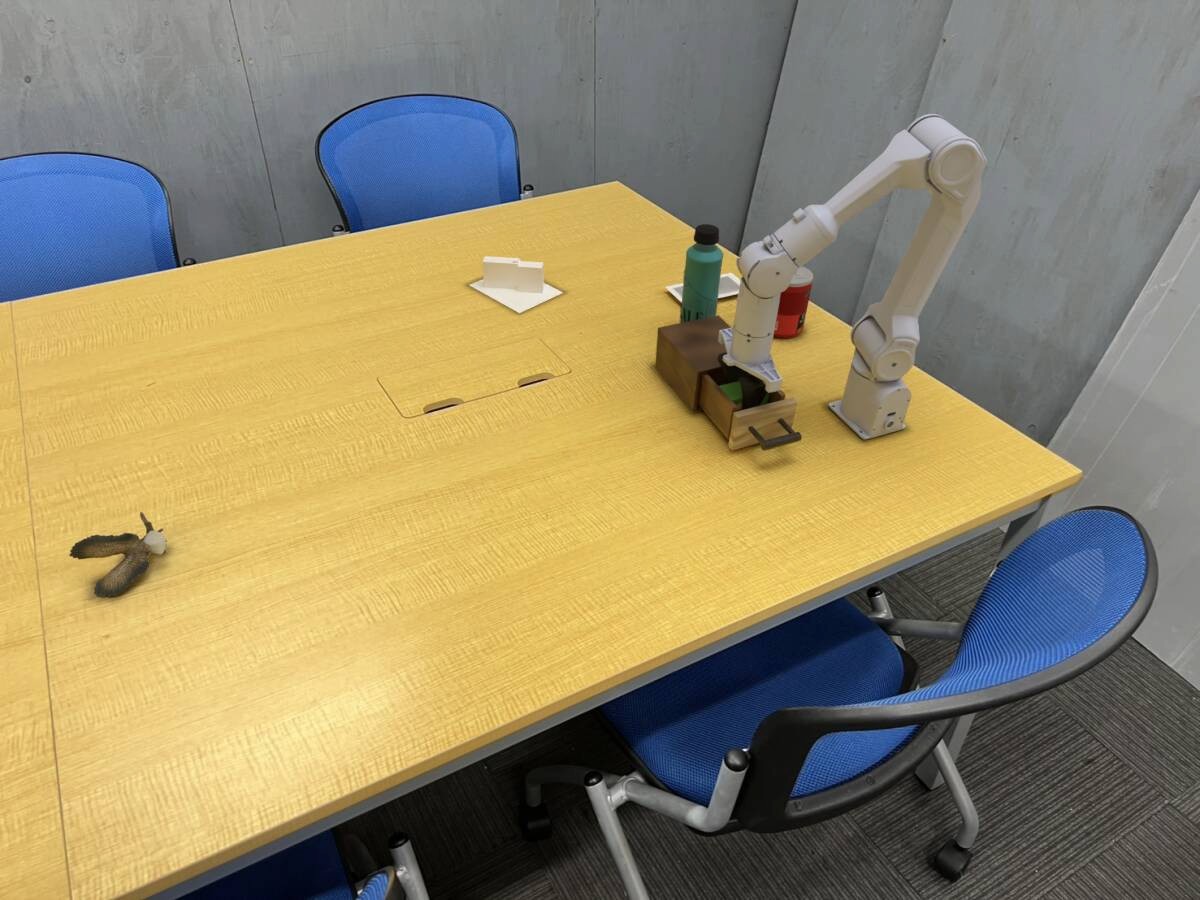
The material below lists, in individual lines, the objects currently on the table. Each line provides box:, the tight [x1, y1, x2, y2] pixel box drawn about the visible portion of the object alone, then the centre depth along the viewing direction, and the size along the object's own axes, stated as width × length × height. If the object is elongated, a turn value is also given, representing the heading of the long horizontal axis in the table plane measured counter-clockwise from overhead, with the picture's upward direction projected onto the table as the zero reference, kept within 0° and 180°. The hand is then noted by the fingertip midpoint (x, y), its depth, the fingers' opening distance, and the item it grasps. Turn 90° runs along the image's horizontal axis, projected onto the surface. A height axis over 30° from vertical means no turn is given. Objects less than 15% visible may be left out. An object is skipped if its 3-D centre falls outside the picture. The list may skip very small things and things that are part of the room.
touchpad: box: [664, 272, 741, 303], centre depth 154 cm, size 8×15×2 cm, turn 115°
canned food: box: [773, 265, 814, 339], centre depth 142 cm, size 8×8×11 cm
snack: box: [719, 381, 769, 412], centre depth 121 cm, size 4×6×4 cm, turn 112°
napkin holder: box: [468, 255, 564, 314], centre depth 153 cm, size 15×11×6 cm
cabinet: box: [654, 314, 733, 413], centre depth 130 cm, size 14×11×8 cm
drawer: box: [697, 370, 803, 452], centre depth 120 cm, size 18×10×6 cm, turn 22°
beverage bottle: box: [678, 223, 724, 323], centre depth 137 cm, size 6×7×20 cm
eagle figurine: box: [68, 511, 168, 598], centre depth 97 cm, size 8×7×9 cm
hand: (741, 404), depth 122 cm, fingers closed on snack, 4 cm apart
